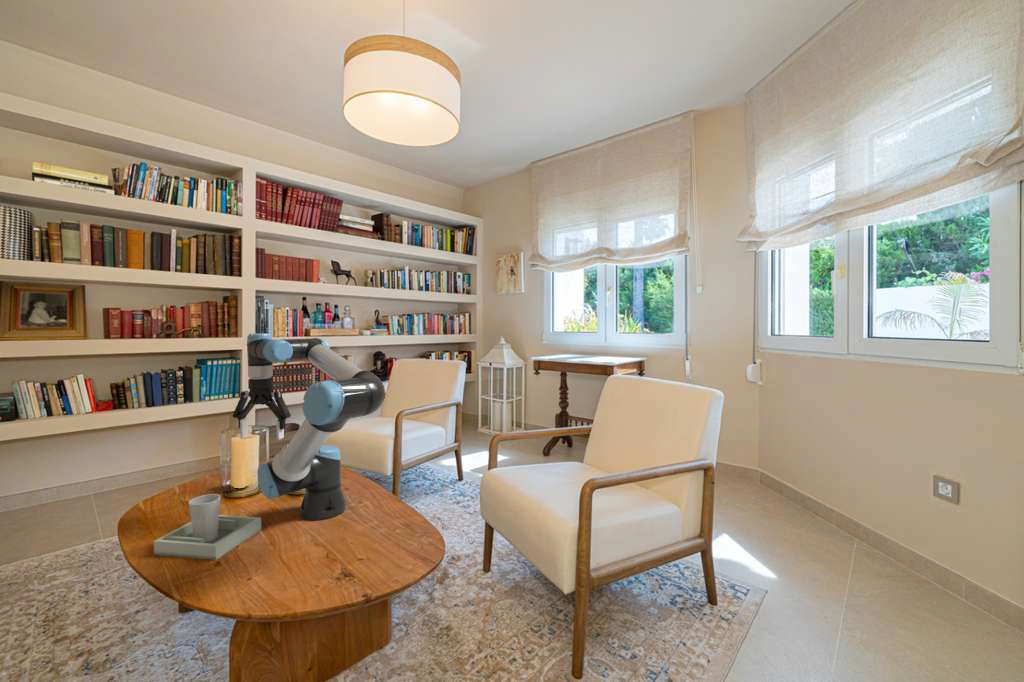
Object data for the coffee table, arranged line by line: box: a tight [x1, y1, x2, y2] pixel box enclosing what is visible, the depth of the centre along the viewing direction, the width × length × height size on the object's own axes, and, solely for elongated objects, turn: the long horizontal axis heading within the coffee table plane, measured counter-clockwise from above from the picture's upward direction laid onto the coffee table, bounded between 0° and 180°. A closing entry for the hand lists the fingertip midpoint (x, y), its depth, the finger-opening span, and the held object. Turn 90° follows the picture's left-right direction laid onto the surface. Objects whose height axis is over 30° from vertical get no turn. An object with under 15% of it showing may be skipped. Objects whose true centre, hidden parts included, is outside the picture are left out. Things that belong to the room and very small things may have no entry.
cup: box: [188, 493, 221, 542], centre depth 133 cm, size 8×8×12 cm
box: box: [153, 514, 262, 561], centre depth 133 cm, size 20×18×4 cm
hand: (262, 438), depth 152 cm, fingers open, 13 cm apart
